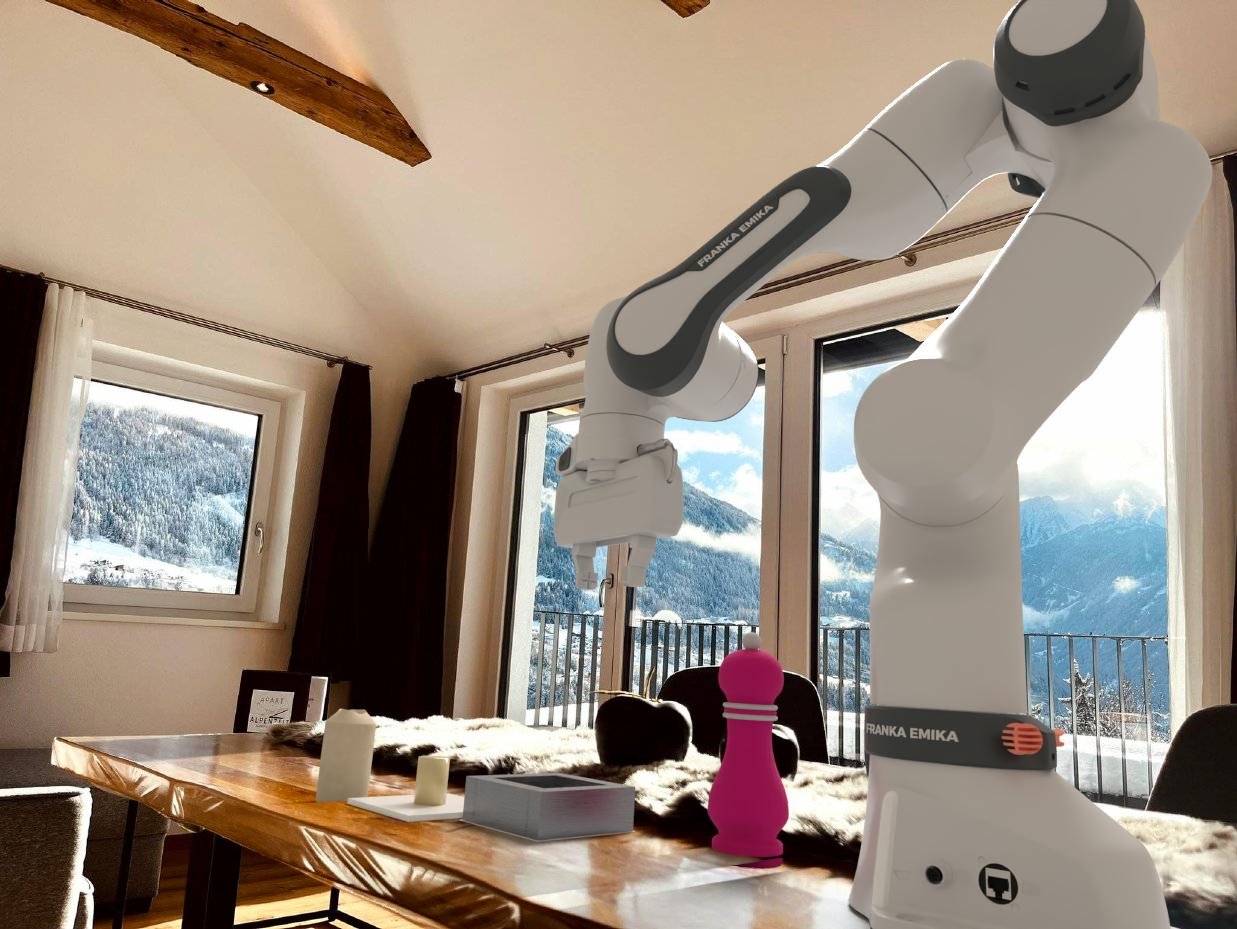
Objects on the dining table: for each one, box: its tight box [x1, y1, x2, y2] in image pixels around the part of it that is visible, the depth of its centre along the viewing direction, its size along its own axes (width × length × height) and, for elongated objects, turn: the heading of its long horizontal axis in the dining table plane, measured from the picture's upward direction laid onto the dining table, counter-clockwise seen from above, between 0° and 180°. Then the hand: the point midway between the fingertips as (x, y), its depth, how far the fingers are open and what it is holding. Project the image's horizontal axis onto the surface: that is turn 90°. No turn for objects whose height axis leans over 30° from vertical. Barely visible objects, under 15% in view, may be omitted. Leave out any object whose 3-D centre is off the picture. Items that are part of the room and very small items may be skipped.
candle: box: [315, 708, 377, 803], centre depth 99 cm, size 6×6×10 cm
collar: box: [461, 772, 636, 841], centre depth 86 cm, size 12×12×4 cm
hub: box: [346, 755, 465, 823], centre depth 92 cm, size 12×12×6 cm
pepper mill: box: [706, 631, 790, 870], centre depth 81 cm, size 7×7×20 cm
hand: (608, 588), depth 88 cm, fingers open, 8 cm apart
